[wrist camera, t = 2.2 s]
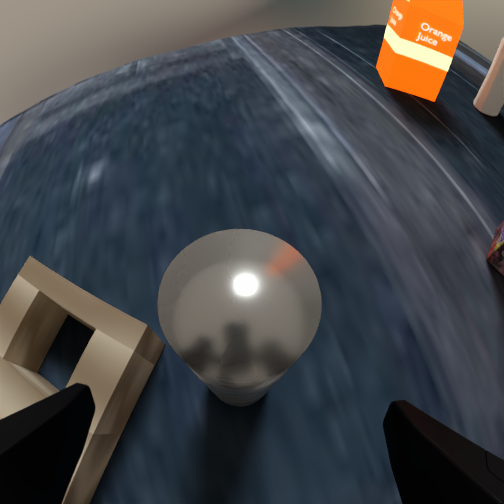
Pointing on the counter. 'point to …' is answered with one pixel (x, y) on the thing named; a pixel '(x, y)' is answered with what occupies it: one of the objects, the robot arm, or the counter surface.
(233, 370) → the steel peg
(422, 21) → the orange juice
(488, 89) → the squeeze bottle
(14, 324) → the birch hole board
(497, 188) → the counter surface
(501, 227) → the snack box
